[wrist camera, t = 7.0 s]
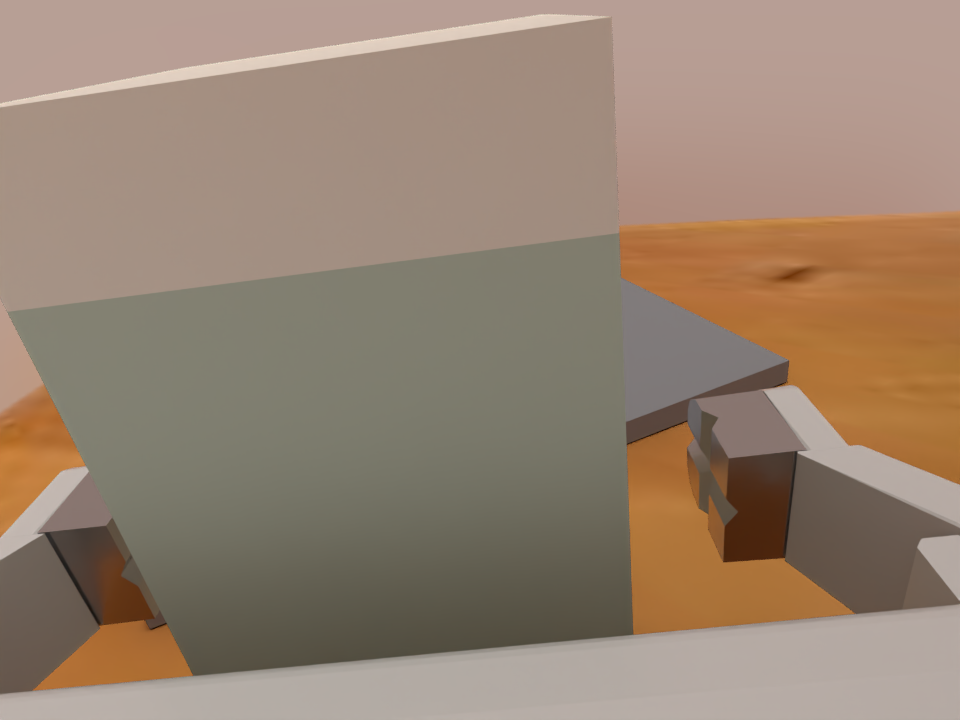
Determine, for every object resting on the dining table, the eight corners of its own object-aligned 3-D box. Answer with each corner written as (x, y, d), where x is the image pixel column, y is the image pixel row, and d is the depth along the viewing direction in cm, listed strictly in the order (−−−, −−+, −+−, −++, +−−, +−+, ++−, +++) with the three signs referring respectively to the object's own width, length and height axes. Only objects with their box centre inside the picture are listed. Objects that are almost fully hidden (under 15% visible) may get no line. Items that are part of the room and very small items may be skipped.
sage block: (591, 628, 14) (544, 14, 9) (642, 901, 10) (611, 16, 4) (367, 648, 15) (184, 66, 9) (320, 923, 10) (-91, 120, 5)
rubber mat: (553, 258, 35) (552, 243, 35) (786, 381, 22) (789, 360, 21) (160, 368, 29) (153, 352, 29) (149, 629, 16) (137, 605, 16)
